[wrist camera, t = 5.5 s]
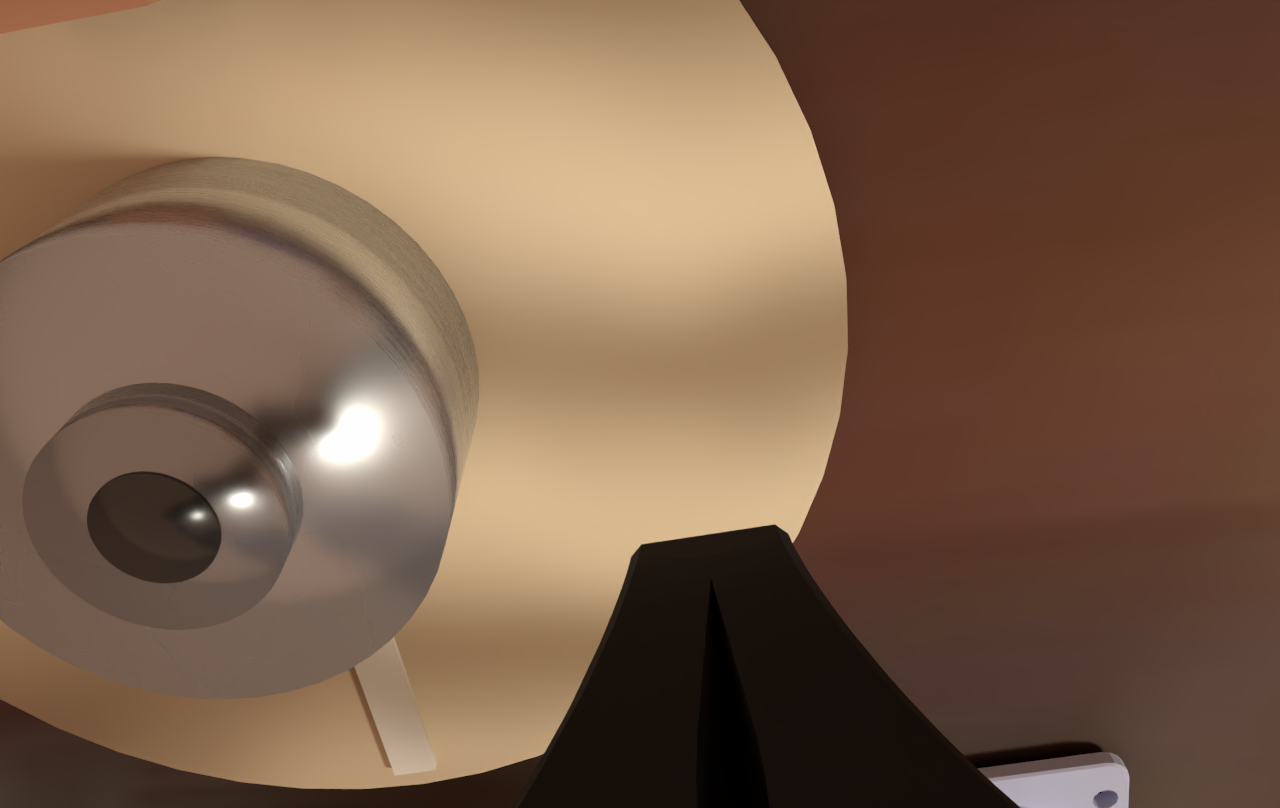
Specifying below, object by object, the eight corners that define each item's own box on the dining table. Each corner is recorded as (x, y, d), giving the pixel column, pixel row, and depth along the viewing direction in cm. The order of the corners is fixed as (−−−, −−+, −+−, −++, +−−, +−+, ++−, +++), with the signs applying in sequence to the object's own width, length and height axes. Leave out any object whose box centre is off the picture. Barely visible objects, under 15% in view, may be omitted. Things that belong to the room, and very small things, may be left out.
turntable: (875, 677, 22) (925, 849, 18) (13, 797, 23) (-102, 981, 20) (767, -421, 14) (819, -512, 10) (-545, -149, 15) (-925, -143, 12)
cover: (519, 528, 19) (492, 709, 15) (124, 583, 20) (-1, 772, 16) (419, 121, 16) (352, 216, 12) (-49, 196, 16) (-261, 312, 12)
